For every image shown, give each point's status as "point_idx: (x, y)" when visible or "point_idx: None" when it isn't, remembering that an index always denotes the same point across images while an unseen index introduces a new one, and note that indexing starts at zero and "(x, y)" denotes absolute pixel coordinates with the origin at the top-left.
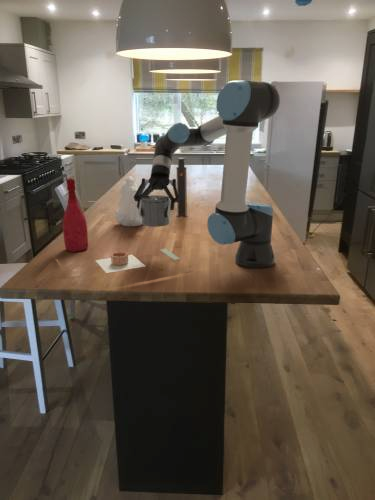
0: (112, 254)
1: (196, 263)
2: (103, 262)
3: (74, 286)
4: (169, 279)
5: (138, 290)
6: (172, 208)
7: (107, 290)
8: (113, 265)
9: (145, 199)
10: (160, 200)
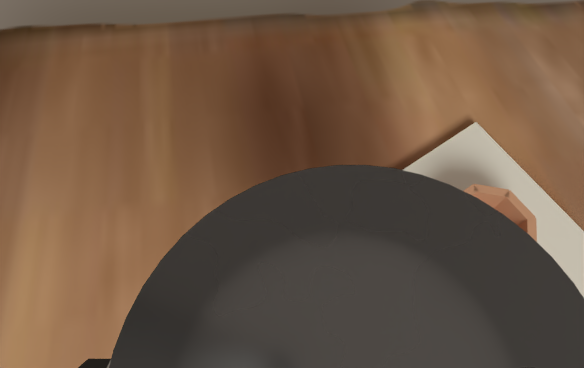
0: (529, 223)
1: (70, 329)
2: (560, 243)
3: (536, 33)
4: (201, 121)
5: (300, 26)
6: (95, 364)
7: (406, 17)
8: None
9: (491, 237)
10: (231, 198)
